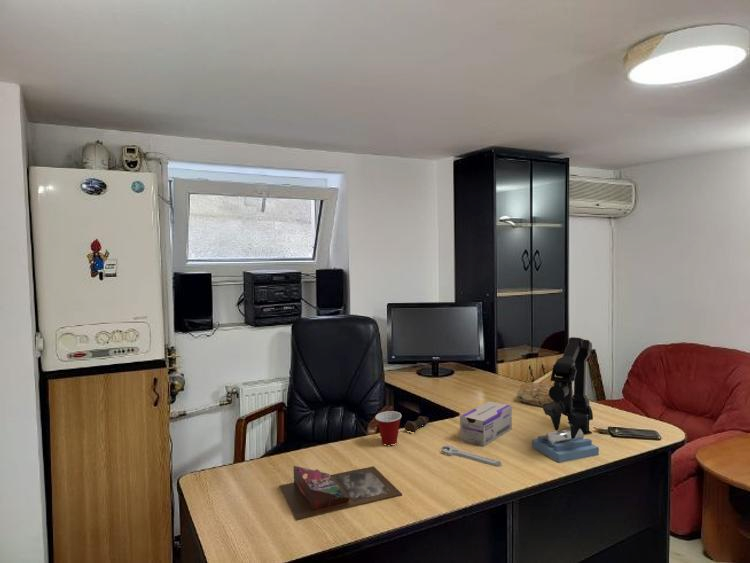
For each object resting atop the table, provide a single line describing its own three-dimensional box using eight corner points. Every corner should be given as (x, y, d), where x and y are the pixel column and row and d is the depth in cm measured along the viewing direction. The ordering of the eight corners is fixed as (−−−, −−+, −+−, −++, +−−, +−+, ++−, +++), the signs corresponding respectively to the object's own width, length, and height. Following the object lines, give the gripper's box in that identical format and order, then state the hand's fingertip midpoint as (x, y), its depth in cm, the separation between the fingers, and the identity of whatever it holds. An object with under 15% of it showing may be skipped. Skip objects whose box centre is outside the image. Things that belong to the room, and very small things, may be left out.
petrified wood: (564, 404, 250) (562, 386, 248) (549, 415, 242) (547, 396, 240) (531, 395, 265) (528, 377, 263) (516, 405, 257) (514, 387, 255)
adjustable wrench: (503, 466, 182) (503, 461, 182) (493, 472, 177) (493, 467, 177) (447, 448, 199) (446, 443, 199) (437, 453, 195) (437, 448, 195)
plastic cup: (370, 444, 204) (369, 415, 204) (387, 437, 212) (387, 409, 212) (390, 451, 197) (389, 421, 196) (407, 443, 205) (407, 414, 204)
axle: (574, 438, 197) (574, 426, 197) (583, 443, 193) (583, 430, 192) (544, 443, 193) (545, 431, 192) (553, 448, 188) (553, 435, 188)
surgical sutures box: (489, 424, 225) (489, 401, 224) (511, 429, 218) (511, 405, 217) (460, 441, 206) (460, 415, 205) (483, 447, 199) (483, 421, 198)
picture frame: (278, 488, 170) (278, 464, 169) (374, 468, 183) (373, 447, 182) (295, 523, 147) (295, 496, 147) (403, 498, 160) (402, 473, 160)
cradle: (569, 440, 203) (569, 428, 203) (598, 455, 188) (598, 442, 188) (532, 447, 198) (531, 434, 197) (559, 462, 182) (559, 449, 182)
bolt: (427, 427, 228) (411, 436, 216) (419, 420, 230) (402, 429, 218) (433, 417, 226) (416, 426, 214) (425, 410, 229) (408, 418, 216)
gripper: (531, 390, 198) (531, 429, 199) (563, 403, 180) (563, 446, 181) (554, 387, 202) (555, 425, 202) (588, 400, 184) (588, 441, 185)
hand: (564, 434), depth 193 cm, fingers open, 9 cm apart
